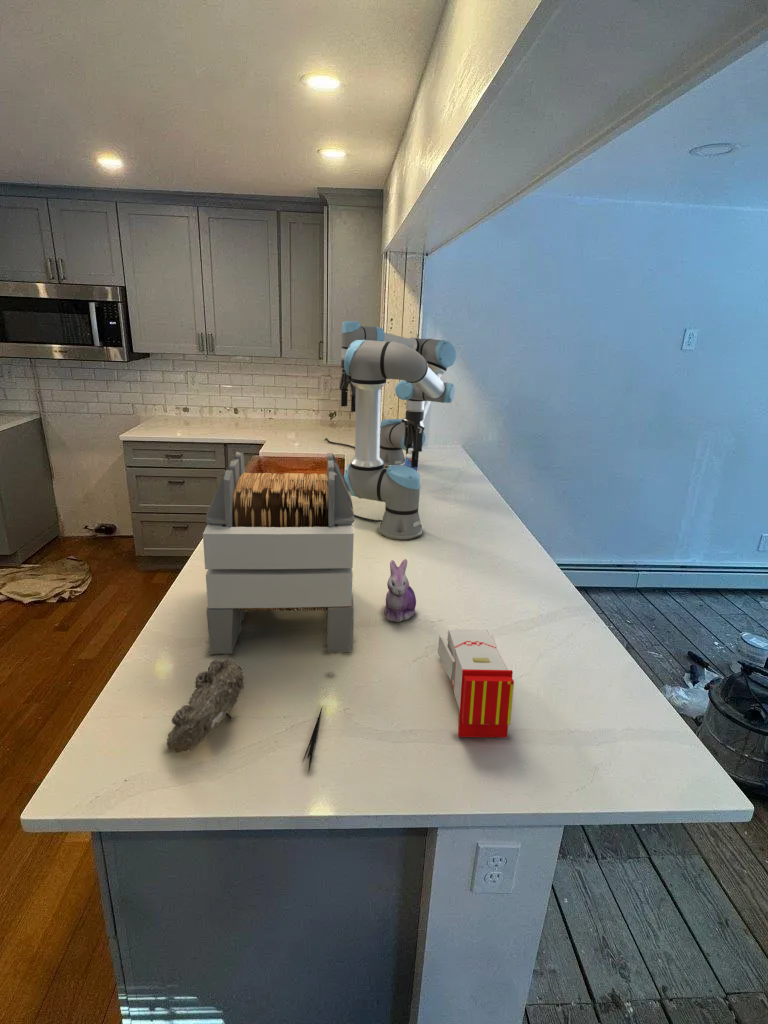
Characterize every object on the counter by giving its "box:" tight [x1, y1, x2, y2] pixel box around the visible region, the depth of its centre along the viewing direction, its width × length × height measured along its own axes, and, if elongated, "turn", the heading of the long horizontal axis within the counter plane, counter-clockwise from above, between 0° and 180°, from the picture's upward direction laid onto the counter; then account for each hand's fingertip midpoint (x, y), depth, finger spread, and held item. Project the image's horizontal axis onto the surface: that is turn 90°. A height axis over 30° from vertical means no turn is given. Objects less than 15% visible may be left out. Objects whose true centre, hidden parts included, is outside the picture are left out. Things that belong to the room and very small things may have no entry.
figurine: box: [384, 558, 417, 623], centre depth 145 cm, size 9×10×15 cm
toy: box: [437, 628, 515, 738], centre depth 117 cm, size 12×13×30 cm
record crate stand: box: [202, 451, 355, 655], centre depth 137 cm, size 34×33×41 cm
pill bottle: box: [405, 448, 419, 472], centre depth 240 cm, size 6×5×10 cm
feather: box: [301, 673, 332, 771], centre depth 108 cm, size 2×28×2 cm
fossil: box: [166, 658, 245, 754], centre depth 106 cm, size 22×10×15 cm
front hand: (411, 465), depth 241 cm, fingers closed on pill bottle, 5 cm apart
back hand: (349, 408), depth 250 cm, fingers open, 13 cm apart
